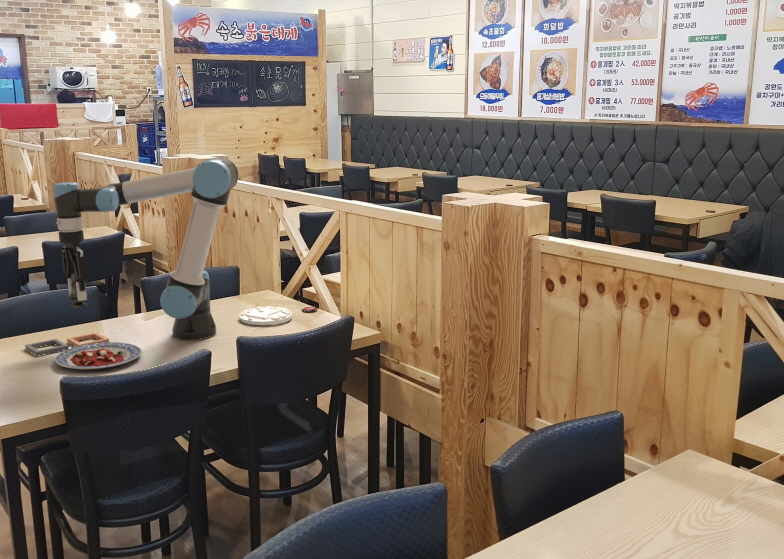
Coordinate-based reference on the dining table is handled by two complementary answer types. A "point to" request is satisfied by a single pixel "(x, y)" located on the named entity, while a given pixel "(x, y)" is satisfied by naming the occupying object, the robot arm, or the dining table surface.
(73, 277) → the chess piece
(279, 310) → the embossed medallion
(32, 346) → the socket
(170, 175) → the robot arm
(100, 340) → the socket
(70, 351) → the ceramic plate
